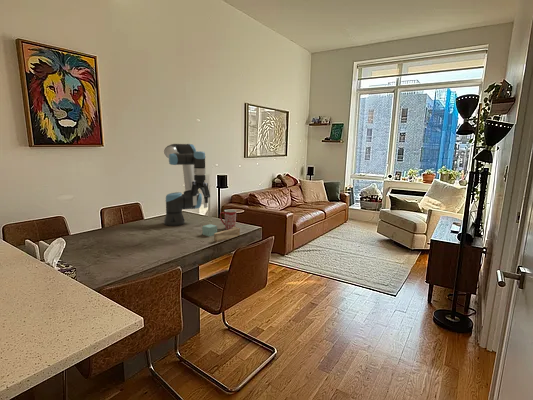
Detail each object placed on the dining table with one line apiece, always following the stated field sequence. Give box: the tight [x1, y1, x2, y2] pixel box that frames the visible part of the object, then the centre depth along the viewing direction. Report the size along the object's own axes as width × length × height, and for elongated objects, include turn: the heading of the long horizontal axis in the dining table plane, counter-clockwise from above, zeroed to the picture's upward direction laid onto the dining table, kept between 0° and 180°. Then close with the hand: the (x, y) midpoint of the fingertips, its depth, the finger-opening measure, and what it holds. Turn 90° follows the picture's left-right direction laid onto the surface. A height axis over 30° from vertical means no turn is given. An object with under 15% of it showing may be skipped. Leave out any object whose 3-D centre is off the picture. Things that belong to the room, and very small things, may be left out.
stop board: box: [213, 226, 241, 243], centre depth 207 cm, size 5×20×5 cm, turn 141°
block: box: [201, 223, 218, 237], centre depth 215 cm, size 7×7×6 cm
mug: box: [219, 209, 238, 230], centre depth 230 cm, size 13×9×14 cm
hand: (200, 206), depth 218 cm, fingers open, 11 cm apart
